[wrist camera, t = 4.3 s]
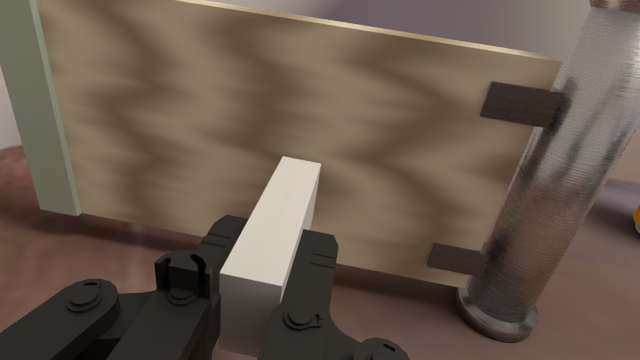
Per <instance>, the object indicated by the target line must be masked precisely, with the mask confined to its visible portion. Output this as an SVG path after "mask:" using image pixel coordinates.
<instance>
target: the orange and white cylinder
mask: <svg viewBox="0 0 640 360" xmlns="http://www.w3.org/2000/svg"><path fill="white" fill-rule="evenodd" d="M633 218H634V221H635V223H636V224H635V228H636V230H637V231H638V232H639V233H640V205H639V207H638V208H637V210H636V211H635V213H634V214H633Z"/></svg>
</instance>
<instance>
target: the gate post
mask: <svg viewBox="0 0 640 360" xmlns="http://www.w3.org/2000/svg"><path fill="white" fill-rule="evenodd" d="M590 6H591V7H590V9H589V12H588V14H587V16H586V18H585V21H584V23H583V25H582V27H581V30H580V32H579V34H578V37H577V39H576V41H575V43H574V46H573V48H572V50H571V53H570V55H569V57H568V60H567V62H566V64H565V66H564V69H563V71H562V73H561V75H560V78H559V80H558V82H557V84H556V87H555V88H556V89H558V90H560V91H561V92H563V93H564V95H563V97H562V99H561V102H560V104H559V106H558V108H557V110H556V113H555V115H554V117H553V119H552V121H551V124H550V126H549V128H543V127H538V128H537V130H536V132H535V135H534V137H533V139H532V141H531V144H530V146H529V148H528V151H527V153H526V155H525V157H524V159H523V162H522V164H521V166H520V169H519V171H518V173H517V175H516V178H515V180H514V182H513V184H512V187H511V189H510V191H509V194H508V196H507V198H506V200H505V203H504V205H503V207H502V210H501V212H500V214H499V216H498V219H497V221H496V223H495V225H494V228H493V230H492V232H491V235H490V237H489V239H488V241H487V244H486V245H487V248H488V250H489V253H490V258H489V260H488V262H487V264H486V266H485V269H484V271H483V273H482V275H481V277H476V276H471V275H470V276H469V279H468V281H467V283H466V285H465V288H459V287H458V288H457V291H456V293H455V298H454V300H455V305H456V308H457V310H458V312H459V313H460V315H461V316H462V317H463V319H464V320H465V321H466V322H467V323H468V324H469V325H470V326H472V327H473V328H474V329H475V330H477V331H478V332H480V333H482V334H484V335H485V336H487V337H490V338H492V339H495V340H498V341H502V342H512V343H513V342H520V341H522V340H525V339H526V338H527V337H528V336H529V335H530V333H531V331H532V330H533V328H534V326H535V325H536V323H537V321H538V310H537V308H536V306H535V304H536V302H537V301H538V299H539V297H540V295H541V294H542V292H543V290H544V289H545V287H546V285H547V283H548V282H549V280H550V278H551V276H552V275H553V273H554V271H555V269H556V268H557V266H558V264H559V263H560V261H561V259H562V257H563V256H564V254H565V252H566V250H567V249H568V247H569V245H570V243H571V242H572V240H573V238H574V237H575V235H576V233H577V231H578V230H579V228H580V226H581V224H582V223H583V221H584V219H585V217H586V216H587V214H588V212H589V211H590V209H591V207H592V205H593V204H594V202H595V200H596V198H597V197H598V195H599V193H600V192H601V190H602V188H603V186H604V185H605V183H606V181H607V179H608V178H609V176H610V174H611V172H612V171H613V169H614V167H615V165H616V164H617V162H618V160H619V159H620V157H621V155H622V153H623V152H624V150H625V148H626V146H627V145H628V143H629V141H630V140H631V138H632V136H633V134H634V133H635V131H636V129H637V127H638V126H639V124H640V0H590Z"/></svg>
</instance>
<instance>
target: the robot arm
mask: <svg viewBox="0 0 640 360" xmlns="http://www.w3.org/2000/svg"><path fill="white" fill-rule="evenodd" d="M320 168H321V164H320V163H315V162H310V161H305V160H300V159H294V158H289V157H284V156H283V157H282V159H281V161H280V163H279V165H278V166H277V168H276V170H275V172H274V174H273V176H272V177H271V179H270V181H269V183H268V185H267V187H266V188H265V190H264V192H263V194H262V196H261V198H260V199H259V201H258V203H257V205H256V207H255V209H254V210H253V212H252V214H251V216H250V218H249V219H247V218H242V217H237V216H232V215H225V216H224V217H222V218H220V219H219V220H217V221H216V222H214V224H213V225H212V227H211V228H210V230H209V231H208V233H207V235H205V237H204V238H203V240H202V242H201V243H200V244H199V246H198V247H197V249H196V250H186V249H182V250H177V251H172V252H169V253H167V254H165V255H163V256H161V257H160V258H159V259H158V260H157V261H156V262H154V263H155V274H156V285H157V289H156V290H154V291H151V292H144V293H127V294H118V292H117V288H116V286H115V285H113V284H112V283H111V282H110V281H106V280H103V279H87V280H83V281H80V282H76V283H74V284H72V285H70V286H68V287H66V288H64V289H63V290H61V291H60V292H58V293H57V294H55V295H54V296H53V297H51V298H50V299H48V300H47V301H45V302H44V303H43V304H41V305H40V306H38V307H37V308H35V309H34V310H33V311H31V312H30V313H28V314H27V315H25V316H24V317H23V318H21V319H20V320H18V321H17V322H15V323H14V324H12V325H11V326H10V327H8V328H7V329H5V330H4V331H2V332H1V333H0V360H212V350H213V348H214V346H215V344H216V341H217V339H218V349H221V350H226V351H230V352H235V353H239V354H244V355H248V356H253V357H257V358H258V359H257V360H410V359H409V357H408V355H407V354H406V353H405V352H404V351H403V350H402V349H401V348H400V347H399V346H398V345H397V344H395V343H393V342H391V341H389V340H387V339H381V338H371V339H366V340H364V341H363V342H361V343H360V342H358V341H356V340H354V339H352V338H351V337H349V336H347V335H346V334H344V333H343V332H341V331H340V330H339V329H338V328H337V327H336V326H335V324H334V322H333V321H332V319H331V316H330V313H329V305H330V299H331V292H332V286H333V280H334V273H335V267H336V260H337V254H338V248H339V246H338V244H337V241H336V239H335V237H334V235H331V234H326V233H321V232H316V231H311V230H310V227H311V223H312V218H313V212H314V206H315V199H316V193H317V187H318V181H319V175H320Z"/></svg>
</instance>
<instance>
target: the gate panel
mask: <svg viewBox="0 0 640 360" xmlns="http://www.w3.org/2000/svg"><path fill="white" fill-rule="evenodd" d="M0 65H1V69H2V72H3V76H4V79H5V83H6V87H7V90H8V94H9V97H10V100H11V105H12V108H13V112H14V115H15V119H16V123H17V126H18V130H19V133H20V137H21V141H22V144H23V148H24V152H25V155H26V159H27V162H28V166H29V170H30V173H31V177H32V180H33V184H34V188H35V191H36V195H37V198H38V202H39V206H40V209H42V210H47V211H52V212H57V213H62V214H68V215H73V216H79V215H80V214H81V213H85V214H90V215H95V216H100V217H105V218H110V219H115V220H120V221H125V222H131V223H136V224H141V225H146V226H151V227H156V228H161V229H166V230H171V231H176V232H181V233H186V234H191V235H196V236H201V237H205V235H207V233H208V231H209V230H210V228H211V227H212V225H213V224H214V222H216V221H217V220H219V219H220V218H222V217H224V216H225V215H232V216H237V217H242V218H247V219H249V218H250V216H251V214H252V212H253V210H254V209H255V207H256V205H257V203H258V201H259V199H260V198H261V196H262V194H263V192H264V190H265V188H266V187H267V185H268V183H269V181H270V179H271V177H272V176H273V174H274V172H275V170H276V168H277V166H278V165H279V163H280V161H281V159H282V157H283V156H284V157H289V158H294V159H300V160H305V161H310V162H315V163H320V164H321V168H320V175H319V181H318V187H317V193H316V199H315V206H314V212H313V218H312V223H311V227H310V230H311V231H316V232H321V233H326V234H331V235H334V237H335V239H336V241H337V244H338V246H339V248H338V254H337V260H336V263H338V264H343V265H348V266H353V267H358V268H363V269H368V270H373V271H378V272H383V273H389V274H394V275H399V276H404V277H409V278H414V279H419V280H424V281H429V282H434V283H439V284H444V285H449V286H454V287H459V288H465V285H466V283H467V281H468V279H469V276H470V275H471V276H476V277H481V275H482V273H483V271H484V269H485V266H486V264H487V262H488V260H489V258H490V253H489V250H488V248H487V245H486V243H485V239H486V237H487V235H488V233H489V230H490V228H491V226H492V223H493V221H494V219H495V217H496V214H497V212H498V210H499V207H500V205H501V203H502V200H503V198H504V196H505V194H506V191H507V189H508V187H509V184H510V182H511V180H512V177H513V175H514V173H515V171H516V168H517V166H518V164H519V161H520V159H521V157H522V154H523V152H524V150H525V148H526V145H527V143H528V141H529V138H530V136H531V134H532V131H533V129H534V127H535V126H537V127H543V128H549V126H550V124H551V121H552V119H553V117H554V115H555V113H556V110H557V108H558V106H559V104H560V102H561V99H562V97H563V95H564V93H563V92H561V91H560V90H558V89H556V88H555V87H553V86H552V85H553V83H554V81H555V78H556V76H557V74H558V72H559V69H560V67H561V65H562V62H561V61H559V60H557V59H555V58H553V57H551V56H549V55H545V54H538V53H532V52H526V51H520V50H514V49H507V48H501V47H495V46H489V45H482V44H475V43H470V42H463V41H457V40H451V39H444V38H438V37H432V36H425V35H419V34H413V33H407V32H400V31H394V30H388V29H381V28H375V27H369V26H363V25H356V24H350V23H343V22H337V21H331V20H324V19H319V18H312V17H306V16H299V15H293V14H287V13H281V12H274V11H268V10H261V9H256V8H249V7H243V6H237V5H230V4H224V3H217V2H211V1H205V0H0Z"/></svg>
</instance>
